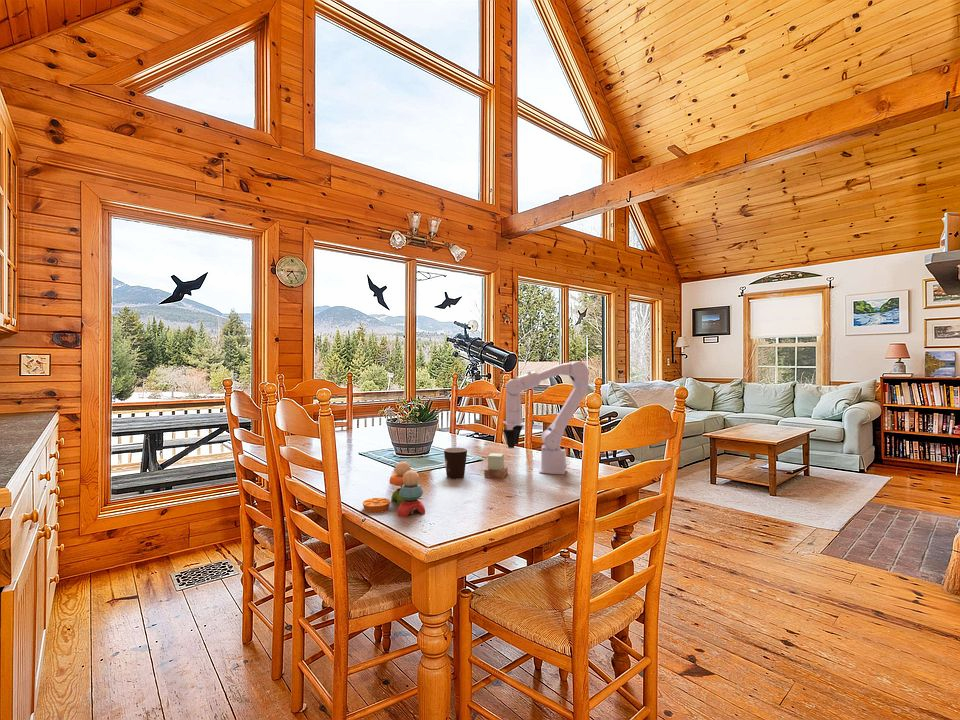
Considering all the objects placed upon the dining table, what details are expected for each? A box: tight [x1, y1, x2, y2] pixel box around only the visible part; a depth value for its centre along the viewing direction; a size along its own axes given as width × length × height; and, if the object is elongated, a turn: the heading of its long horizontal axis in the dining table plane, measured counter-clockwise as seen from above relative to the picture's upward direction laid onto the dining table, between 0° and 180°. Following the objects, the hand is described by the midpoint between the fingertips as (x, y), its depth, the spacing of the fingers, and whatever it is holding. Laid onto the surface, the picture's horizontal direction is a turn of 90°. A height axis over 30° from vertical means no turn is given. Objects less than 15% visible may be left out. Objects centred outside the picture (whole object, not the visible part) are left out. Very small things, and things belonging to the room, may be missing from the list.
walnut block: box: [483, 466, 509, 479], centre depth 181 cm, size 7×7×3 cm
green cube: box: [487, 452, 505, 470], centre depth 181 cm, size 5×5×5 cm
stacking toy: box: [362, 461, 426, 518], centre depth 142 cm, size 18×17×12 cm
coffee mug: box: [443, 446, 468, 480], centre depth 180 cm, size 12×9×10 cm
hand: (513, 445), depth 186 cm, fingers open, 7 cm apart
